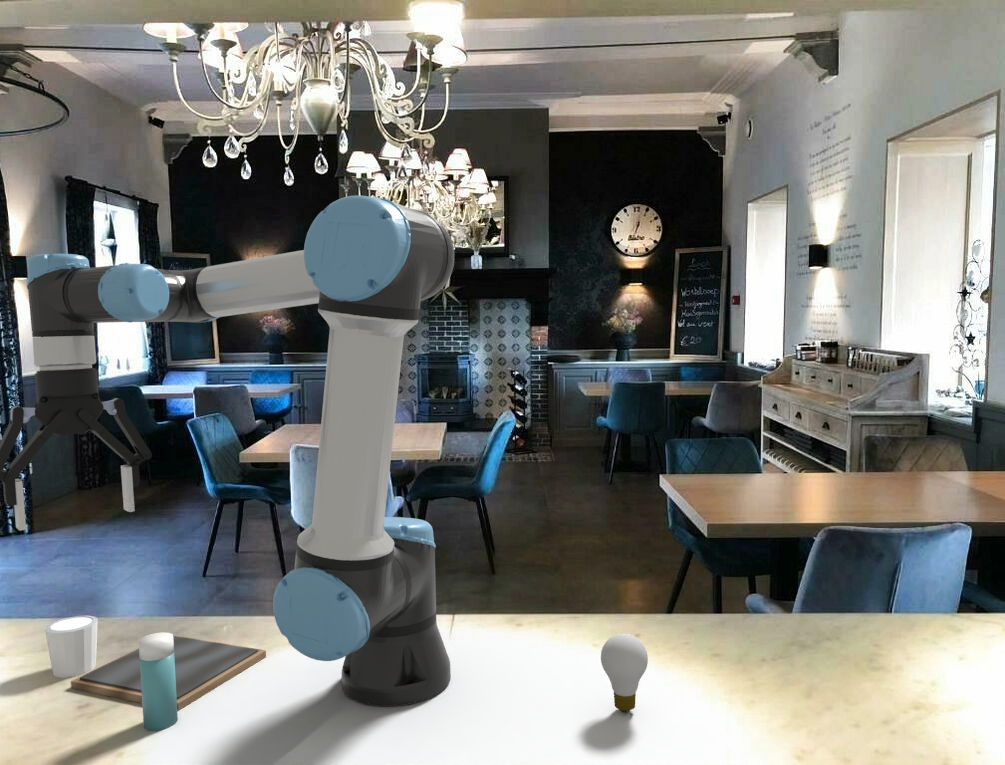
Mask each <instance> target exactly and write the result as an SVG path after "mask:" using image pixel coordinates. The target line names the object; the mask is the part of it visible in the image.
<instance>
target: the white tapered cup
mask: <svg viewBox="0 0 1005 765" xmlns="http://www.w3.org/2000/svg"><path fill="white" fill-rule="evenodd" d="M44 632H45V637H46V642H47V647H48V652H49V654H48V655H49V659H50V664H51V671H52V674H53V676H55V677H57V678H70V677H71V678H72V677H76V676H82V675H85V674H87V673H89V672H91V671H93V670H94V668H96V665H97V646H98V642H97V641H98V617H96V616H93V615H75V616H69V617H64V618H61V619H59V620H55V621H53V622H50V624H48V625H46V627H45V629H44Z"/></svg>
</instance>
